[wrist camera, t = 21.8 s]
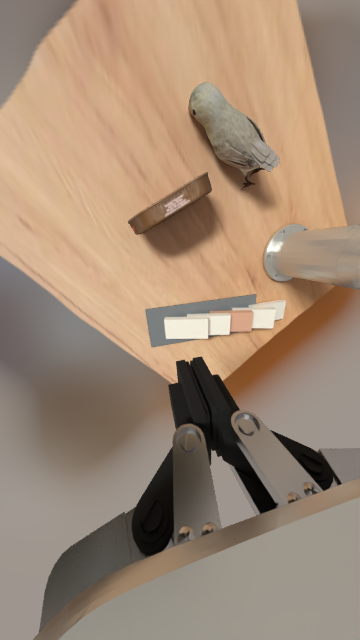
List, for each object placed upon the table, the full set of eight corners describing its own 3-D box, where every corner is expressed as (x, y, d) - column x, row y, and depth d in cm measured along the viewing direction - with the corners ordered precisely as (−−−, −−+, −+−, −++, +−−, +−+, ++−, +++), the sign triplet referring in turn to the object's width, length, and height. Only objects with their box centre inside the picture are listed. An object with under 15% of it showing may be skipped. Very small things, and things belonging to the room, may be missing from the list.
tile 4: (231, 307, 43) (274, 307, 41) (230, 325, 45) (270, 325, 44) (232, 309, 41) (276, 309, 40) (231, 328, 44) (273, 328, 42)
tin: (197, 181, 32) (214, 160, 24) (204, 199, 33) (222, 184, 25) (128, 223, 32) (124, 215, 24) (137, 239, 33) (136, 237, 26)
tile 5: (248, 305, 44) (281, 299, 46) (246, 322, 46) (278, 316, 48) (252, 307, 42) (286, 301, 44) (250, 325, 44) (282, 318, 46)
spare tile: (209, 331, 43) (251, 331, 41) (210, 313, 41) (253, 312, 39) (209, 328, 44) (249, 328, 43) (209, 310, 42) (251, 309, 41)
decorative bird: (196, 89, 27) (215, 36, 20) (259, 169, 33) (290, 148, 26) (178, 125, 28) (189, 86, 21) (242, 195, 34) (267, 182, 27)
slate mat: (255, 294, 43) (256, 294, 43) (251, 328, 47) (252, 329, 47) (145, 309, 39) (145, 310, 38) (151, 346, 43) (151, 347, 43)
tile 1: (165, 317, 40) (207, 316, 39) (166, 335, 42) (207, 335, 41) (163, 319, 39) (208, 319, 38) (165, 338, 41) (207, 338, 40)
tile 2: (187, 314, 41) (229, 312, 40) (188, 332, 43) (228, 331, 42) (186, 316, 40) (230, 315, 39) (187, 335, 42) (229, 334, 41)
